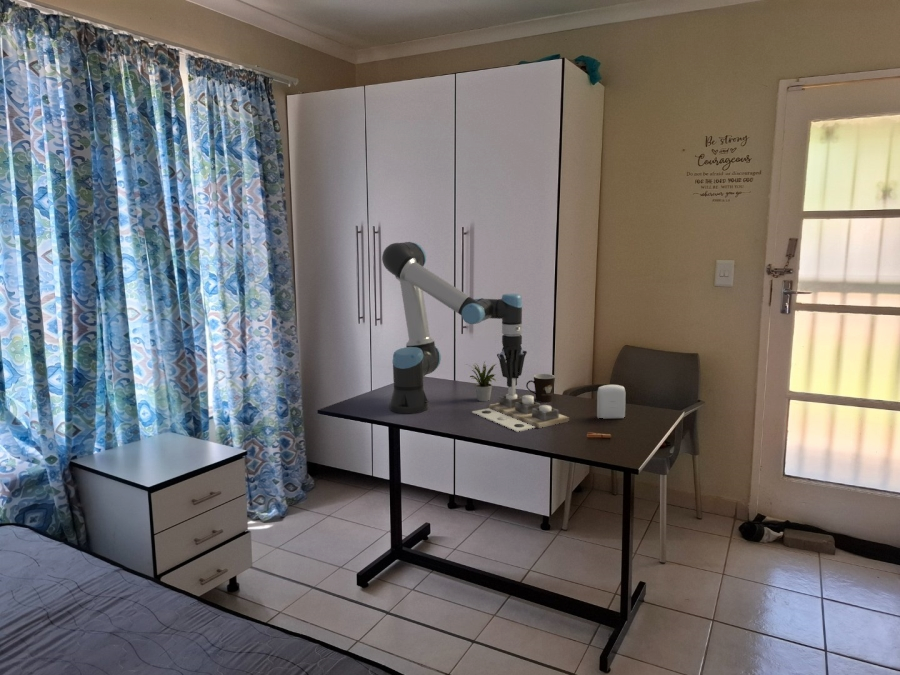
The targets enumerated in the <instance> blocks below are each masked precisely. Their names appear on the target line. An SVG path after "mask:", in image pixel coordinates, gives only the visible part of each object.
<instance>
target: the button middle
mask: <svg viewBox="0 0 900 675" xmlns="http://www.w3.org/2000/svg"><path fill="white" fill-rule="evenodd" d="M521 397H522V404H523V405H526V406H529V405H533V404H534V402H535V396H534V395H531V394H530V395H529V394H525V395H522V396H521Z"/></svg>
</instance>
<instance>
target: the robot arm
mask: <svg viewBox="0 0 900 675" xmlns="http://www.w3.org/2000/svg"><path fill="white" fill-rule="evenodd" d="M381 257H382V258H381V260H382V263H383V264H382V265H383V267H384V268H385V269H386V270H387V271H388V272H389V273H391V274H392V275H394V276H395V279H396V280H397V281H399V284H400V289H401V295H402V296H401V297H402V303H403V310H404V315H405V321H406V330H407V334H408V341H407V342H406V344H405V347H403V348H399V349H397V350H395V351H394V352H393V354H392V372H393V373H392V376H393V378H392V379H393V392H392V395H391V397H390V402H389V410H390V411H391V410H392V411H391V412H393V411H394V413H397V414H416V413H417V412H418V413H421V412H425V411H427V410H428V409H429V401H428V398H427V395H426V393H425V392H426V391H425V390H424V389H425V388H424V377H425V376H427V375H428V374H432V373H433V372H434V371H436V369H438V367H439V366H440V364H441V361H442V359H441V358H442V354H441V352H440V350H439V348H438V347H437V346H436V344H435V340H434V339H433V338H432V337H431V336H430V329H429V322H428V317H427V316H428V315H427V310H426V309H427V308H426V304H425V296H424V295H425V294H424V292H425V293H426V294H428V295H429V296H431V297H432V298H434V299H436V300H437V301H439V302H440V303H441V304H443V305H445V306H446V307H448V308H450V310H452V311H454V312H456V313H457V314H458V315H460V316H461V318H462V320H463V321H464V322H465V323H466V324H468V325H476V324H479V323H481V322H484V321H486V320H488V319H498V320H500V319H501V324H502V325H501V333H502V336H501V343H502V349H501V352H500V353H497V354H496V357H497V358H498V361H499V366H500V372H501V375H502V377H503V378H506V386H507V387H508V388H507V389H508V390H507V394H510V395H516V394H517V393H516V392H517V391H516V390H517V389H516V388H517V385H518V379H519V378H520V377H521V376H522V372H523V367H524V362H525V359H526V355H527V353H528V352H527V350H524V349H523V348H522V344H523V343H522V342H523V336H522V333H523V330H522V328H523V325H522V324H523V322H522V321H523V318H522V317H523V304H522V303H523V302H522V296H521V295H520V294H519V293H505V294H502V296H501V298H500V299H499V298H497V299H496V298H483V297H482V298H473V297H470V296H469V295H468V294H466V292H463V291H462V290H460V289H458V288H457V287H455V286H454V285H452V284H450V283H449V282H448V281H446V280H444V279H443V278H442V277H440V276H439V275H437V274H435V273H434V272H432V271H430V270H429V269H427V268H426V267H424V266H425V264H426V261H427V255H426V252H425V249H424V248H423V247H422V246H421V245H420V244H418V243H416V242H412V241H405V242H393V243H391V244H389V245H387V247H385V249H384V250H383V252H382V256H381ZM418 413H417V414H418Z"/></svg>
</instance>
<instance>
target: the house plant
mask: <svg viewBox="0 0 900 675" xmlns="http://www.w3.org/2000/svg"><path fill="white" fill-rule="evenodd" d="M485 363H486V361H483V366H482V372H481V370H480V367H479V365H478V363H475V362H474V364H473V366H472V367H473V368H474V369H472V370H471V371H472V372H473V373H474V374H475V375H476V376H475V375H470V376H469V378H471V380H472V379H473V380H474V379H475V380H476V384H474V387H475V388H474V389H475V393H476V395H475V396H476V400H477V401H478V400H479V402H488V400H489V401H490V400H491V394H492V388H493V384H492V380H493V381H494V382H496V379H495V376H496V375H497V374H494V373H492V371H493V370H494V369H496V368H498V367H495V366H496V365H497V363H494V364H493V365H492V366H490V368H489V369H488V370H487V365H486V364H485ZM475 364H476V365H475ZM464 365H467V366H469V367H471V365H470V364H465V363H464ZM494 367H495V368H494Z"/></svg>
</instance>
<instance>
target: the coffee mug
mask: <svg viewBox="0 0 900 675" xmlns="http://www.w3.org/2000/svg"><path fill="white" fill-rule="evenodd" d="M555 379H556V376H555V374H554V375H553V374H551V373H537V374H534V375H533V380H529V381H527V382H526V384H525V385H526V386H525V387H526V389H527V390H528V391H529V392H530V393H532V394H534V395H535V400H537V401H536V402H538V401H541V402H540V403H550V402H552V401H553V393H554V389H555V388H554V387H555ZM530 383H533V384H534V391H532V390H531V389H530V388H529V386H528V385H529V384H530Z"/></svg>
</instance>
